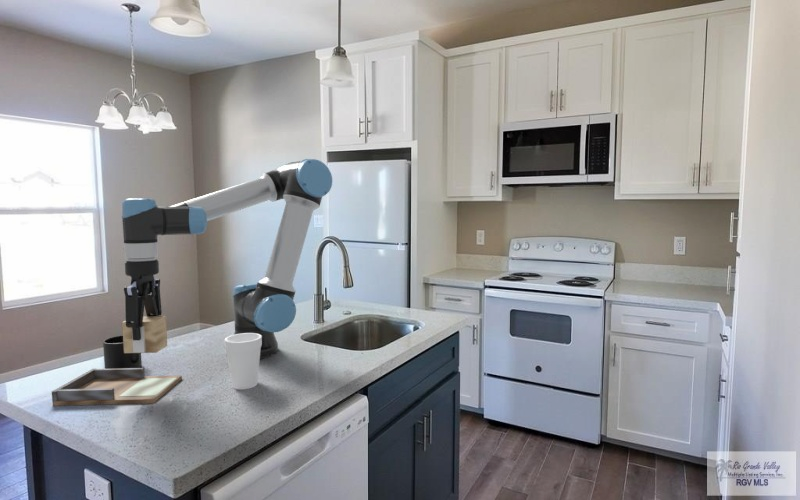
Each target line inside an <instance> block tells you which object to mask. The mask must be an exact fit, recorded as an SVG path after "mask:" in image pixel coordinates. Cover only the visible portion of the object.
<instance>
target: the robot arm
mask: <svg viewBox="0 0 800 500" xmlns="http://www.w3.org/2000/svg"><path fill="white" fill-rule="evenodd" d="M332 187H333V175H332V173H331V170H330V168H329V167H328V165H327V164H326V163H325V162H323V161H321V160H319V159H315V158H313V159H312V158H305V159H302V160H298V161H292V162H288V163H286V164H284V165H282V166H280V167H277V168H274V169H272V170H269V171H267V172H264V173H262V174H261V176H260V177H259V178H255V179H252V180H248V181H246V182H243V183H239V184H236V185H234V186H230V187H227V188H223V189H220V190H217V191H214V192H210V193H208V194H205V195H202V196H198V197H194V198H192V199H189V200H186V201H183V202H178V203H176V204H173V205H169V206H161V205H160V206H159V205H158V204H157V202H156V200H155V199H154V198H126V199H124V200H123V201H122V209H121V210H122V216H121V220H122V222H121V223H122V234H123V246H122V247H123V250H124V253H123V254H124V259H126V261H125V262H124V272H125V275H126V276H127V277H130V285H129V286H124V288H123V293H124V297H125V301H124V303H125V308H124V309H125V321H126V327H128V328H132V340H133V353H140V352H146V348H145V329H144V326H142V323H143V316H144V313H145V314H146V316H162V312H163V311H162V300H161V298H162V297H161V279H159V278H155V277H154V276H155V275H158V274H160V267H159V266H160V263H159V262H160V261H159V260H158V259H157V258H158V257H159V242H158V236H170V235H171V236H177V235H178V236H183V235H186V236H189V235H190V236H193V235H202V234H204V233H205V232H206V230H207V227H208V222H209V221H212V220H215V219H218V218H221V217H224V216H226V215H229V214H232V213H235V212H239V211H241V210H243V209H246V208H250V207H252V206H256V205H258V204H261V203H265V202H268V201H270V202H277V201H280V200H284V201H285V205H284V209H283V213H282V214H281V215H282V216H281V219H280V223H279V226H278V229H277V230H278V231H277V234H276V237H275V239H274V244H273V247H272V250H271V254H270V257H269V261H268V265H267V268H266V271H265V274H264V277H263V278H261V279H260V280H258V281H257V283H256V282H255V283H247V284H239V285H236V286H234V287H233V295H232V298H233V315H234V333H233V335H235V334H241V333H256V334H260V335H262V346H261V350H260V359H264V358H269V357H272V356H274V355H276V354H277V353H278V352H279V343H278V341H277V337H276V336H275V335H276V334H275V333H278V332H282V331H284V330H286V329H287V328H289V326H291V325H292V323H294V320H295V317H296V314H297V306H296V304H295V302H294V298H295V294H296V289H295V287H294V285H293V284H294V280H295V275H296V273H297V269H298V265H299V261H300V259H301V255H302V253H303V249H304V245H305V242H306V241H305V240H306V238H307V235H308V231H309V227H310V223H311V220H312V216H313V214H314V211H315V210H317V209H319V208H320V206H321V203H322V200H323V197H325V196H326V195H327V194H328V193H329V192H331V190H332Z"/></svg>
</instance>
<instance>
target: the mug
mask: <svg viewBox="0 0 800 500" xmlns="http://www.w3.org/2000/svg"><path fill="white" fill-rule="evenodd" d="M102 345H103V347H102V349H103V359H104V360H103V361H104V363H103V364H104V369H115V368H142V366H143V364H142V363H143V362H142V353H124V345H123V334H122V335H117V336H112V337H109V338H106V339H104V340H103V341H102Z"/></svg>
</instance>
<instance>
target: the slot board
mask: <svg viewBox="0 0 800 500" xmlns="http://www.w3.org/2000/svg"><path fill="white" fill-rule="evenodd" d="M181 380H183V375H149V376H148V375H145V367H140V368H115V369H105V368H91V369H90V370H88V371H86V372H84V373H82V374H81V375H79V376H77V377H76V378H74V379H71V380H70V381H68V382H67V383H64V384H63V385H61V386H59V387H58V388H56V389H54V390H52V391H51V401H52V403H51V404H52V406H53V407H54V406H56V407H57V406H87V405H89V406H90V405H95V406H96V405H127V404H128V405H129V404H130V405H132V404H154V403H156V402H157V401H158V400H159V399H160V398H162V397H163V396H164V395H165V394H166V393H167V392H168V391H170V390H171V389H172V388H174V387H175V385H177V384H178V383H179V382H180V381H181Z"/></svg>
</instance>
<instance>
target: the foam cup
mask: <svg viewBox="0 0 800 500" xmlns="http://www.w3.org/2000/svg"><path fill="white" fill-rule="evenodd" d="M261 346H262V335H260V334H256V333H241V334H235V335H234V334H231V335H228V336H227V337H225V338H224V350H225V353H226V358H227V363H228V369H229V374H230V381H231V386H232V388H233V389H235V390H249V389H252V388H255V387H256V386H257V385H258V380H259V379H258V378H259V369H260V359H261V358H260V350H261Z"/></svg>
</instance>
